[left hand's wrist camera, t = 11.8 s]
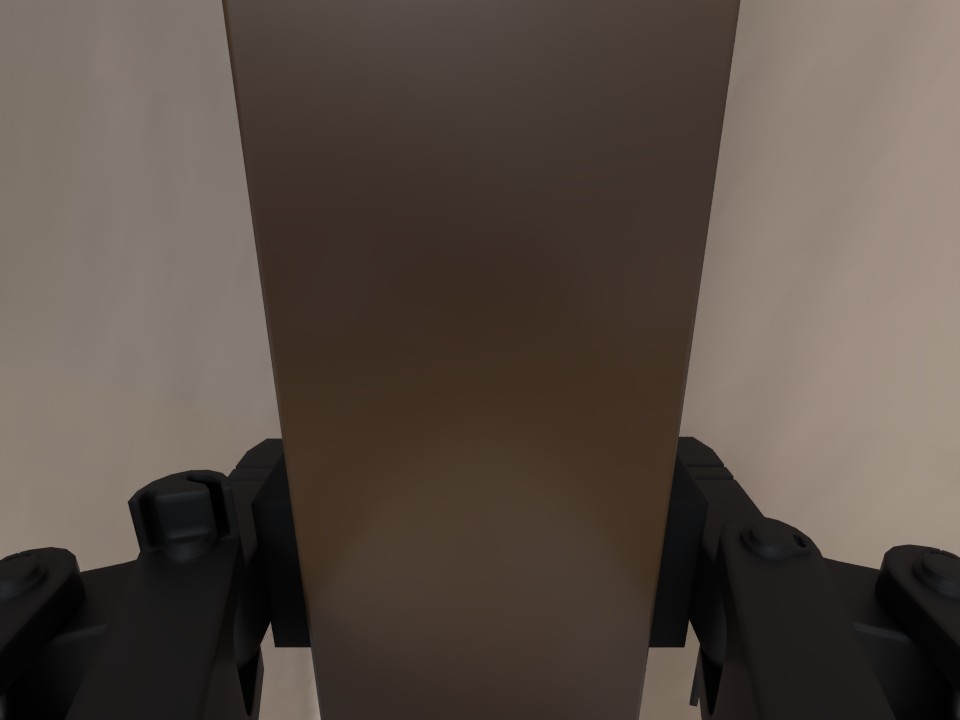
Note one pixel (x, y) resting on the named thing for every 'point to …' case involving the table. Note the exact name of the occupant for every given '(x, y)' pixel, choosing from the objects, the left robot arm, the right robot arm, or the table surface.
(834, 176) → the table surface
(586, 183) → the beam
